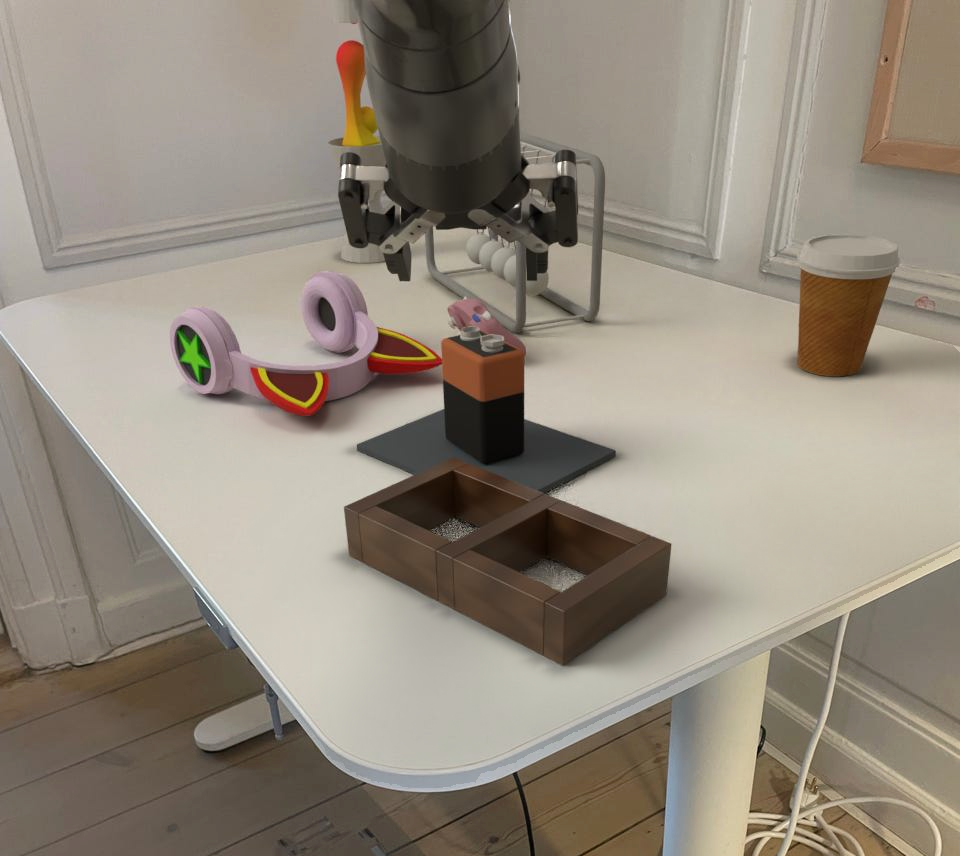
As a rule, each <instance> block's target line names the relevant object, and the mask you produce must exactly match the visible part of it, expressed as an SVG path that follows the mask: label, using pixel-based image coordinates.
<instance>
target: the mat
mask: <svg viewBox="0 0 960 856" xmlns="http://www.w3.org/2000/svg"><path fill="white" fill-rule="evenodd" d="M356 451H357V452H360V453H362V454H365V455H367V456H369V457H371V458H374V459H377V460H379V461H382V462H384V463H386V464H389V465H391V466H394V467H396V468H398V469H401V470H403V471H405V472H407V473H409V474H410V473H411V474H412V475H415V474H418V473H420V472H422V471H424V470H427V469H429V468H431V467H433V466H436V465H438V464H440V463H442V462H444V461H447V460H449V459H451V458H455V459H458V460H460V461H463V462H465V463H467V464H470V465H473V466H475V467H478V468H481V469H483V470H486V471H488V472H491V473H493V474H496V475H498V476H501V477H503V478H506V479H509V480H511V481H514V482H516V483H519V484H521V485H524V486H526V487H529V488H532V489H534V490H537V491H539V492H542V493H544V494H546V493H547V492H549V491H551V490H553V489H556V488H557V487H559V486H562V485H563V484H565V483H567V482H569V481H571V480H572V479H574V478H577V477H579V476H580V475H583V474H584V473H586V472H588V471H590V470H592V469H594V468H596V467H598V466H600V465H602V464H604V463H605V462H607V461H609V460H611V459H613V458H616V455H617V450H616V449H614V448H610V447H608V446H604V445H602V444H600V443H599V444H598V443H596V442H593V441H591V440H587V439H584V438H581V437H578V436H575V435H572V434H570V433H567V432H565V431H561V430H558V429H555V428H552V427H549V426H546V425H543V424H540V423H537V422H535V421H531V420H529V419H525V418H524V452H523V453H522V454H520V455H516V456H513V457H509V458H506V459H502V460H499V461H495V462H492V463H488V464H483V463H481V462H480V461H478V460H477V459H475V458H474V457H472V456H471V455H469V454H468V453H466V452H465V451H463V450H462V449H460V448H459V447H457V446H456V445H454V444H453V443H451V442H450V441H449V440H447V439H446V436H445V415H444V408H442V409H440V410H438V411H436V412H433V413H430V414H428V415H425V416H423V417H420V418H418V419H416V420H413V421H411V422H408V423H406V424H403V425H401V426H399V427H396V428H393V429H390V430H388V431H386V432H384V433H381V434H379V435H376V436H374V437H372V438H369V439H366V440H364V441H362V442H358V443H357V444H356Z"/></svg>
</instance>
